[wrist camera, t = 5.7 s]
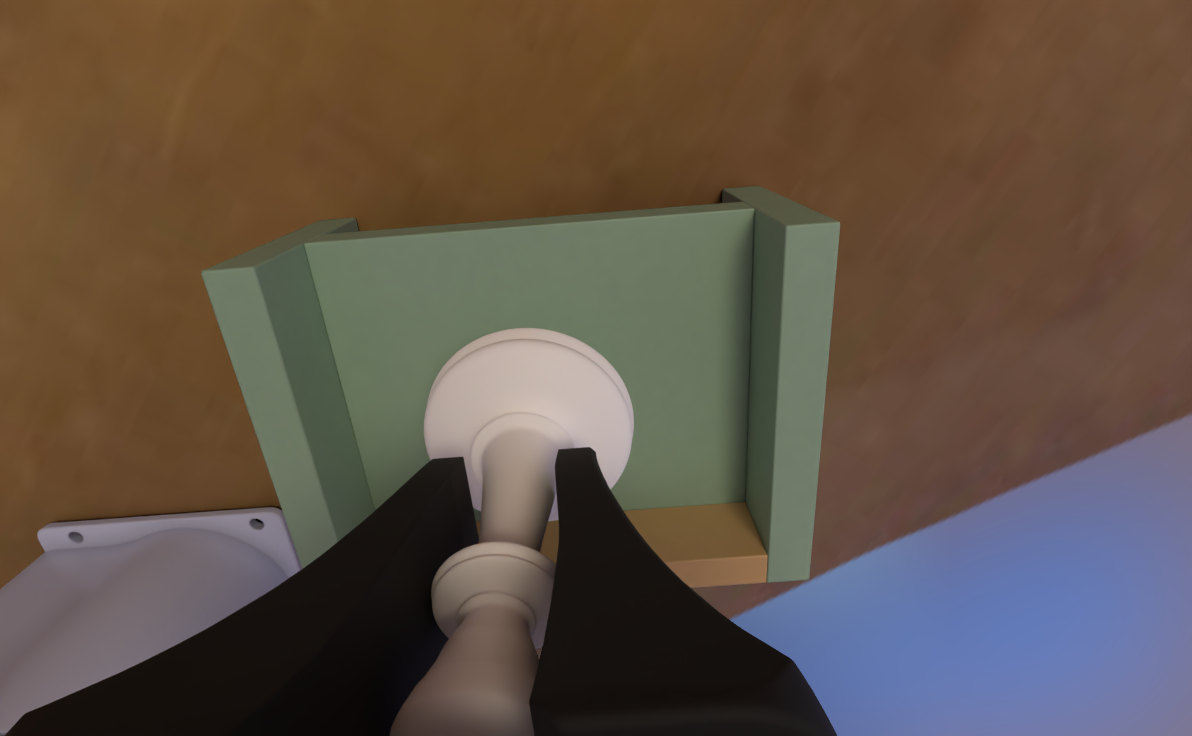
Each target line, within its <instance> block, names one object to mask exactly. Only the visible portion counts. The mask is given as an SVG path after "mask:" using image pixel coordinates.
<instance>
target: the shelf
mask: <svg viewBox="0 0 1192 736" xmlns="http://www.w3.org/2000/svg"><path fill="white" fill-rule="evenodd" d="M839 232H840V222H839V221H837V220H834V219H832V218H830V217H828V216H825V215H823V214H821V213H819V212H816V211H814V210H812V209H810V208H807V207H805V206H803V205H801V204H798V203H796V202H794V201H792V200H790V199H787V198H785V197H783V196H781V195H778V194H776V193H774V192H772V191H769V190H767V189H765V188H763V187H760V186H752V187H739V188H726V189H723V190H722V203H719V204H707V205H694V206H681V207H668V208H655V209H642V210H630V211H617V212H604V213H591V214H578V215H565V216H552V217H540V218H527V219H514V220H501V221H488V222H475V223H462V224H450V225H437V226H424V227H411V228H398V229H385V230H372V231H360V232H359V229H358V225H357V221H356V218H343V219H330V220H320V221H318V222H315V223H313V224H310V225H308V226H306V227H303V228H301V229H299V230H296V231H294V232H292V233H289V234H287V235H285V236H282V237H280V238H278V239H275V240H273V241H271V242H268V243H266V244H264V245H261V246H259V247H257V248H254V249H252V250H250V251H247V252H245V253H243V254H240V255H238V256H236V257H233V258H231V259H229V260H226V261H224V262H222V263H219V264H217V265H215V266H212V267H210V268H208V269H205V270H203V271H202V272H201V274H202V277H203V280H204V283H205V286H206V289H207V292H208V295H209V298H210V301H211V304H212V307H213V309H214V312H215V315H216V318H217V321H218V324H219V327H220V330H221V333H222V336H223V339H224V342H225V345H226V347H227V350H228V353H229V356H230V359H231V362H232V365H233V368H234V371H235V374H236V377H237V380H238V383H239V385H240V388H241V391H242V394H243V397H244V400H245V403H246V406H247V409H248V412H249V415H250V418H251V421H252V423H253V426H254V429H255V432H256V435H257V438H258V441H259V444H260V447H261V450H262V453H263V456H264V459H265V461H266V464H267V467H268V470H269V473H270V476H271V479H272V482H273V485H274V488H275V491H276V494H277V497H278V499H279V502H280V505H281V508H282V511H283V514H284V517H285V520H286V523H287V526H288V529H289V532H290V534H291V537H292V540H293V543H294V546H295V549H296V552H297V555H298V558H299V561H300V564H301V567H302V569H303V568H304V567H306V566H307V565H308V564H310V563H311V562H313V561H314V560H315V559H317V558H318V557H319V556H321V555H322V554H323V553H325V552H326V551H327V550H328V549H330V548H331V547H332V546H333V545H335V544H336V543H337V542H338V541H339V540H341V539H342V538H343V537H344V536H345V535H347V534H348V533H349V532H350V531H352V530H353V529H354V528H355V527H356V526H358V525H359V524H360V523H361V522H362V521H364V520H365V519H366V518H367V517H368V516H370V515H371V514H372V513H373V512H374V511H375V510H376V509H377V508H378V507H380V506H381V505H382V504H383V503H384V502H385V501H386V500H387V499H388V498H389V497H391V496H392V495H393V494H394V493H395V492H396V491H397V490H398V489H399V488H400V487H401V486H403V485H404V484H405V483H406V482H407V481H408V480H409V479H410V478H411V477H412V476H413V475H414V474H416V473H417V472H418V471H419V470H420V469H421V468H422V467H423V466H424V465H426V464H427V463H428V462H429V461H430V458H429V456H428V453H427V449H426V445H425V439H424V417H425V411H426V407H427V402H428V397H429V393H430V390H431V388H432V385H433V383H434V381H435V379H436V377H437V375H438V373H439V372H440V370H441V369H442V368H443V366H444V365H445V364H446V363H447V361H448V360H449V359H450V358H451V357H452V356H453V355H454V354H455V353H457V352H458V351H459V350H460V349H462V348H463V347H464V346H466V345H468V344H469V343H471V342H473V341H474V340H476V339H478V338H481V337H483V336H485V335H488V334H491V333H494V332H498V331H502V330H507V329H515V328H539V329H546V330H551V331H556V332H559V333H563V334H565V335H568V336H571V337H573V338H575V339H578V340H580V341H581V342H583V343H585V344H587V345H588V346H590V347H591V348H593V349H594V350H596V351H597V352H598V353H599V354H601V355H602V356H603V357H604V358H605V359H606V360H607V361H608V362H609V363H610V364H611V365H612V366H613V367H614V369H615V370H616V371H617V373H618V374H619V376H620V377H621V379H622V381H623V382H624V384H625V386H626V388H627V391H628V393H629V396H630V399H631V403H632V407H633V414H634V431H633V438H632V445H631V451H630V455H629V458H628V461H627V464H626V466H625V469H624V471H623V473H622V474H621V476H620V478H619V479H618V481H617V482H616V483H615V485H614V486H613V487H612V488H611V491H612V493H613V495H614V496H615V498H616V500H617V501H618V503H619V505H620V506H621V508H622V510H623V511H624V513H625V514H626V516H627V517H628V519H629V520H630V521H631V523H632V524H633V525H634V527H635V528H636V529H637V531H638V532H639V534H640V535H641V536H642V537H643V539H644V540H645V541H646V542H647V544H648V545H649V546H650V547H651V548H652V549H653V551H654V552H655V553H656V554H657V555H658V556H659V557H660V558H661V559H662V561H663V562H664V563H665V564H666V565H667V566H668V567H669V568H670V569H671V570H672V571H673V572H674V573H675V574H676V575H677V576H678V577H679V578H680V579H681V580H682V581H683V582H684V583H685V584H686V585H688V586H689V587H690V588H696V587H710V586H724V585H738V584H752V583H765V582H766V580H767V582H783V581H798V580H808V579H809V574H810V562H811V551H812V539H813V528H814V517H815V505H816V494H817V482H818V471H819V460H820V448H821V437H822V426H823V414H824V403H825V391H826V380H827V369H828V357H829V346H830V334H831V323H832V312H833V300H834V289H835V277H836V266H837V255H838V243H839ZM473 509H474V515H475V520H476V525H477V530H478V536H479V534H480V519H481V511H479V510H477V509H475V508H473ZM558 544H559V520H555V521H549V522H548V523H547V527H546V531H545V534H544V538H543V541H542V546H541V550H540V553H542V554H543V555H545V556H546V557H548V558H549V559H550V560H551V561H553V562H554V563H555V564H556V561H557V552H558Z"/></svg>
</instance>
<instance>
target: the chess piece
mask: <svg viewBox="0 0 1192 736" xmlns="http://www.w3.org/2000/svg"><path fill="white" fill-rule="evenodd" d="M633 431H634V414H633V407H632V403H631V399H630V396H629V393H628V391H627V388H626V386H625V384H624V382H623V381H622V379H621V377H620V376H619V374H618V373H617V371H616V370H615V369H614V367H613V366H612V365H611V364H610V363H609V362H608V361H607V360H606V359H605V358H604V357H603V356H602V355H601V354H599V353H598V352H597V351H596V350H594V349H593V348H591V347H590V346H588V345H587V344H585V343H583V342H581V341H580V340H578V339H575V338H573V337H571V336H568V335H565V334H563V333H559V332H556V331H551V330H546V329H539V328H515V329H507V330H502V331H498V332H494V333H491V334H488V335H485V336H483V337H481V338H478V339H476V340H474V341H473V342H471V343H469V344H468V345H466V346H464V347H463V348H462V349H460V350H459V351H458V352H457V353H455V354H454V355H453V356H452V357H451V358H450V359H449V360H448V361H447V363H446V364H445V365H444V366H443V368H442V369H441V370H440V372H439V373H438V375H437V377H436V379H435V381H434V383H433V385H432V388H431V390H430V393H429V397H428V402H427V407H426V411H425V417H424V439H425V445H426V449H427V453H428V456H429V458H430V460H432V459H437V458H451V457H464V462H465V468H466V473H467V478H468V483H469V489H470V494H471V499H472V504H473V508H475V509H477V510H479V511H481V519H480V534H479V542H478V544H475V545H472V546H469V547H466V548H464V549H462V550H460V551H458V552H456V553H455V554H453V555H452V556H450V557H449V558H448V559H447V560H446V561H445V562H444V563H443V564H442V565H441V566H440V568H439V569H438V571H437V573H436V575H435V577H434V579H433V583H432V588H431V599H432V610H433V615H434V618H435V620H436V622H437V624H438V626H439V628H440V629H441V630H442V632H443V633H444V634H445V635H446V636H447V637H448V638H449V640H448V641H447V642H446V644H445V645H444V647H443V648H442V650H441V652H440V654H439V656H438V658H437V660H436V661H435V663H434V664H433V665H432V667H431V668H430V670H429V671H428V672H427V674H426V675H425V676H424V677H423V678H422V679H421V680H420V681H419V683H418V684H417V685H416V686H415V688H414V689H413V690H412V692H411V693H410V695H409V696H408V698H407V699H406V701H405V702H404V704H403V705H402V707H401V709H400V710H399V712H398V714H397V716H396V718H395V720H394V722H393V724H392V727H391V730H390V734H389V736H535V735H534V729H533V723H532V717H531V711H530V706H529V700H530V696H531V692H532V689H533V685H534V681H535V677H536V672H537V668H538V664H539V660H538V655H537V652H536V650H537V649H538V648H540V647H542V646H543V642H544V637H545V631H546V626H547V621H548V615H549V610H550V604H551V597H552V590H553V584H554V577H555V569H556V564H555V563H554V562H553V561H551V560H550V559H549V558H548V557H546V556H545V555H543V554H542V553H540V550H541V546H542V541H543V538H544V534H545V531H546V527H547V523H548V522H549V521H555V520H558V507H557V493H556V479H555V462H556V457H557V453H558V449H569V448H582V447H591V448H592V449H593V450H594V451H595V452H596V457H597V461H598V464H599V467H600V469H601V472H602V474H603V476H604V478H605V480H606V482H607V484H608V486H609V488H610V490H611V488H612V487H613V486H614V485H615V483H616V482H617V481H618V479H619V478H620V476H621V474H622V473H623V471H624V469H625V466H626V464H627V461H628V458H629V455H630V451H631V445H632V438H633Z"/></svg>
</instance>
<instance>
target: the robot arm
mask: <svg viewBox="0 0 1192 736" xmlns="http://www.w3.org/2000/svg"><path fill="white" fill-rule="evenodd" d="M555 479H556V493H557V507H558V520H559V544H558V552H557V561H556V569H555V577H554V584H553V590H552V597H551V604H550V610H549V615H548V621H547V626H546V631H545V637H544V642H543V647H542V651H541V655H540V660H539V664H538V668H537V672H536V677H535V681H534V685H533V689H532V692H531V696H530V700H529V706H530V711H531V717H532V723H533V729H534V735H535V736H837V734H836V732H835V731H834V729H833V726H832V725H831V723H830V721H829V719H828V717H827V715H826V713H825V712H824V710H823V708H822V706H821V705H820V703H819V701H818V699H817V697H816V696H815V694H814V692H813V691H812V689H811V687H810V686H809V684H808V683H807V681H806V679H805V678H804V676H803V675H802V673H801V672H800V670H799V669H798V667H797V666H796V664H795V663H794V662H793V661H792V659H790V658H789V657H787V656H785V655H784V654H782V653H780V652H779V651H777V650H776V649H774V648H772V647H771V646H769V645H767V644H766V643H764V642H763V641H761V640H759V639H758V638H756V637H754V636H752V635H751V634H749V633H748V632H746V631H744V630H743V629H741V628H740V627H738V626H737V625H736V624H734V623H733V622H731V621H730V620H729V619H727V618H726V617H725V616H723V615H722V614H721V613H719V612H718V611H717V610H716V609H715V608H713V607H712V606H711V605H710V604H709V603H708V602H706V601H705V600H704V599H703V598H702V597H701V596H699V595H698V594H697V593H696V592H695V591H693V590H692V589H691V588H690V587H689V586H688V585H686V584H685V583H684V582H683V581H682V580H681V579H680V578H679V577H678V576H677V575H676V574H675V573H674V572H673V571H672V570H671V569H670V568H669V567H668V566H667V565H666V564H665V563H664V562H663V561H662V559H661V558H660V557H659V556H658V555H657V554H656V553H655V552H654V551H653V549H652V548H651V547H650V546H649V545H648V544H647V542H646V541H645V540H644V539H643V537H642V536H641V535H640V534H639V532H638V531H637V529H636V528H635V527H634V525H633V524H632V523H631V521H630V520H629V519H628V517H627V516H626V514H625V513H624V511H623V510H622V508H621V506H620V505H619V503H618V501H617V500H616V498H615V496H614V495H613V493H612V491H611V490H610V488H609V486H608V484H607V482H606V480H605V478H604V476H603V474H602V472H601V469H600V467H599V464H598V461H597V457H596V452H595V451H594V450H593V449H592V448H591V447H582V448H569V449H558V453H557V457H556V462H555ZM256 519H259V520H261V521H262V522H263V523H259V522H258V521H257V520H256ZM80 534H81V535H80ZM37 537H38V540H39V542H40V544H41V545H42V547H43V549H44V551H45V553H44V554H42V555H41V556H40V557H39V558H37V559H36V560H35V561H34V562H33V563H31V564H30V565H29V566H28V567H27V568H25V569H24V570H23V571H22V572H20V573H19V574H18V575H17V576H16V577H14V578H13V579H12V580H11V581H10V582H8V583H7V584H6V585H5V586H4V587H2V588H1V589H0V736H389V734H390V730H391V727H392V724H393V722H394V720H395V718H396V716H397V714H398V712H399V710H400V709H401V707H402V705H403V704H404V702H405V701H406V699H407V698H408V696H409V695H410V693H411V692H412V690H413V689H414V688H415V686H416V685H417V684H418V683H419V681H420V680H421V679H422V678H423V677H424V676H425V675H426V674H427V672H428V671H429V670H430V668H431V667H432V665H433V664H434V663H435V661H436V660H437V658H438V656H439V654H440V652H441V650H442V648H443V647H444V645H445V644H446V642H447V641H448V640H449V638H448V637H447V636H446V635H445V634H444V633H443V632H442V630H441V629H440V628H439V626H438V624H437V622H436V620H435V618H434V615H433V610H432V599H431V588H432V583H433V579H434V577H435V575H436V573H437V571H438V569H439V568H440V566H441V565H442V564H443V563H444V562H445V561H446V560H447V559H448V558H449V557H450V556H452V555H453V554H455V553H456V552H458V551H460V550H462V549H464V548H466V547H469V546H472V545H475V544H478V542H479V536H478V530H477V525H476V520H475V515H474V509H473V504H472V499H471V494H470V489H469V483H468V478H467V473H466V468H465V462H464V457H451V458H437V459H432V460H430V461H429V462H428V463H427V464H426V465H424V466H423V467H422V468H421V469H420V470H419V471H418V472H417V473H416V474H414V475H413V476H412V477H411V478H410V479H409V480H408V481H407V482H406V483H405V484H404V485H403V486H401V487H400V488H399V489H398V490H397V491H396V492H395V493H394V494H393V495H392V496H391V497H389V498H388V499H387V500H386V501H385V502H384V503H383V504H382V505H381V506H380V507H378V508H377V509H376V510H375V511H374V512H373V513H372V514H371V515H370V516H368V517H367V518H366V519H365V520H364V521H362V522H361V523H360V524H359V525H358V526H356V527H355V528H354V529H353V530H352V531H350V532H349V533H348V534H347V535H345V536H344V537H343V538H342V539H341V540H339V541H338V542H337V543H336V544H335V545H333V546H332V547H331V548H330V549H328V550H327V551H326V552H325V553H323V554H322V555H321V556H319V557H318V558H317V559H315V560H314V561H313V562H311V563H310V564H308V565H307V566H306V567H304V568H303V569H302V567H301V564H300V561H299V558H298V555H297V552H296V549H295V546H294V543H293V540H292V537H291V534H290V532H289V529H288V526H287V523H286V520H285V517H284V514H283V511H282V510H280V509H278V508H275V507H264V508H251V509H237V510H223V511H209V512H195V513H182V514H168V515H154V516H140V517H127V518H113V519H99V520H85V521H72V522H58V523H50V524H47V525H46V526H44V527H43V528H42V529H41V530H39V531H38V534H37Z"/></svg>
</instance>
